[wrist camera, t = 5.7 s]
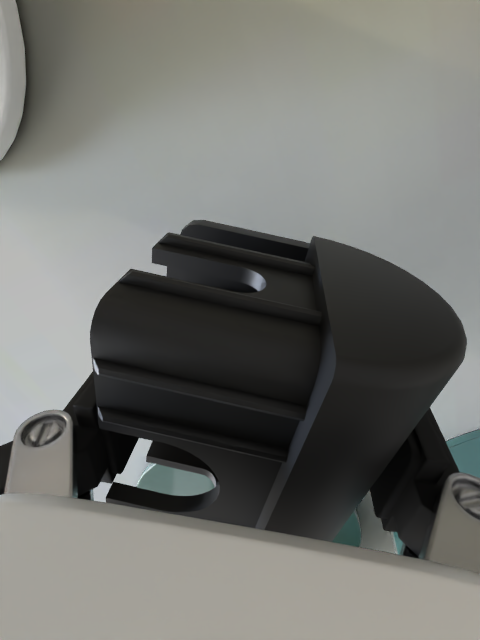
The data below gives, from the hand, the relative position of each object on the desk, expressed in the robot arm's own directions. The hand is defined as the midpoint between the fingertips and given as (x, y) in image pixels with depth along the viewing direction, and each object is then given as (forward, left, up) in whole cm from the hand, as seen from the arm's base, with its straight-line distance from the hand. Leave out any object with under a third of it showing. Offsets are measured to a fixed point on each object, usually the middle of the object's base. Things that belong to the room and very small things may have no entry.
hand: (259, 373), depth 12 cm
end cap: (0, 0, -2) cm, 2 cm away
